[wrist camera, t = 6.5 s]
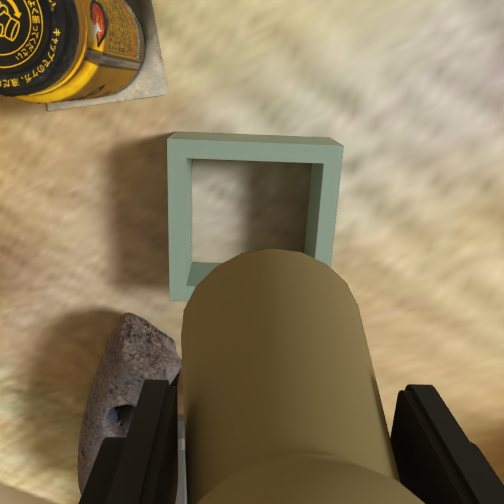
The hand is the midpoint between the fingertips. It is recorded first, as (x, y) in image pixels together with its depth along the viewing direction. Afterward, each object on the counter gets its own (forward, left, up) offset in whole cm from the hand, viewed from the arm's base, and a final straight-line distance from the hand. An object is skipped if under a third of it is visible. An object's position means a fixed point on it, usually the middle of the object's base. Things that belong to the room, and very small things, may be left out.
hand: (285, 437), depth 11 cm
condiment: (+10, -11, -21) cm, 26 cm away
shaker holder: (0, 0, -21) cm, 21 cm away
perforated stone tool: (+8, +14, -21) cm, 27 cm away
